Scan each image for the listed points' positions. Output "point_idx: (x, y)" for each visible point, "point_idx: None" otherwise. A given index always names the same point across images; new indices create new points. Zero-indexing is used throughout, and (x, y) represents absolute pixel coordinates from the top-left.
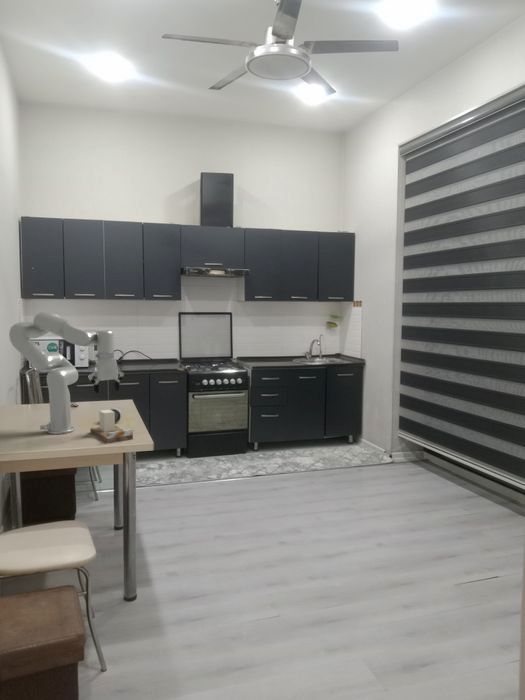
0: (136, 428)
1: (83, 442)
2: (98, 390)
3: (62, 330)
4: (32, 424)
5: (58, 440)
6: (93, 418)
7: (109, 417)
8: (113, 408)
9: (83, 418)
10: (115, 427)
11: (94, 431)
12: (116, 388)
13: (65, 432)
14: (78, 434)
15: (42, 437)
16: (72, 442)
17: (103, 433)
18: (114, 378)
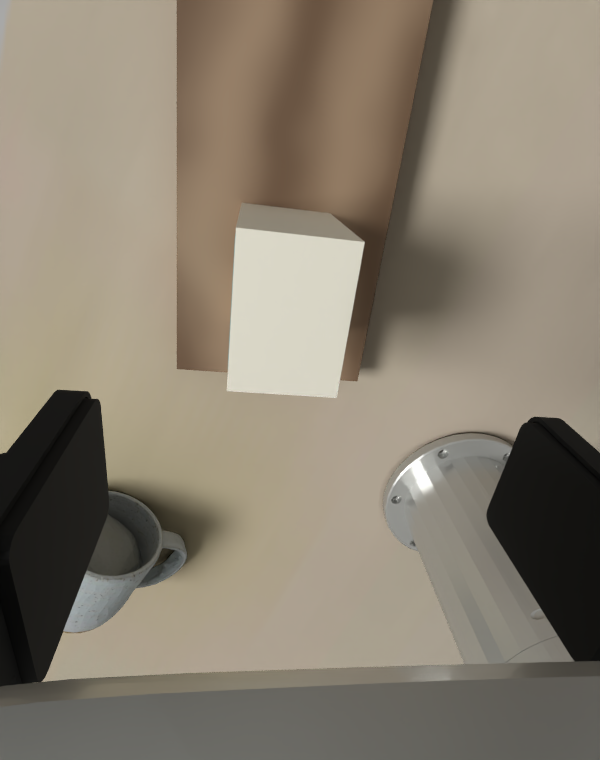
0: (18, 265)
1: (536, 131)
2: (557, 445)
3: None
4: (462, 659)
5: (592, 309)
6: (185, 636)
7: (296, 226)
8: (83, 598)
9: (229, 656)
10: (197, 293)
11: (373, 292)
12: (84, 449)
13: (472, 435)
14: (428, 371)
15: (593, 430)
16: (579, 192)
17: (366, 162)
18: (39, 721)
